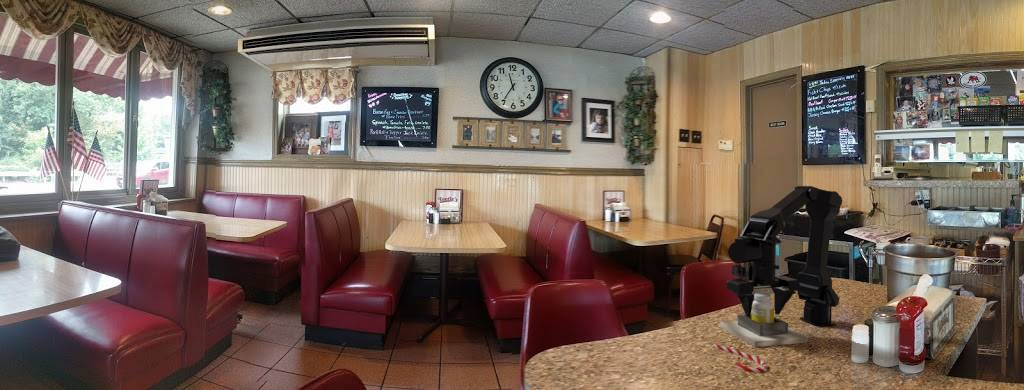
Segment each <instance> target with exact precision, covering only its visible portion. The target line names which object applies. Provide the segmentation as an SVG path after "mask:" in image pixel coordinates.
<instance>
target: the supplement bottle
mask: <svg viewBox="0 0 1024 390" xmlns="http://www.w3.org/2000/svg"><path fill="white" fill-rule="evenodd" d="M753 295H754V299H753V304H752V310H751V314H752V320H754V321H756V322H758V323H760V324H764V323H774V317H775V315H774V314H775V309H774V304H773V303H772V302H771V301H772V295H771V294H769V293H766V292H765V293H764V292H755V293H754V294H753Z"/></svg>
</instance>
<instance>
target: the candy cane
mask: <svg viewBox="0 0 1024 390" xmlns="http://www.w3.org/2000/svg"><path fill="white" fill-rule="evenodd" d="M712 348H714V349H717V350H719V351H724V352H728V353H729V354H734V355H735V356H737V355H738V356H741V357H743V358H745V359H749V360H751V361H752V362H755V363H757V364H759V366H760V367H751V366H746V365H743V364H740V363H736V364H735V367H736V368H737V369H739V370H742V371H745V372H748V373H755V374H762V373H766V372H767V371H768V370H769V365H768V364H767V362H765V361H764V360H763V359H761V358H759V357H756V356H754V355H752V354H750V353H746V352H744V351H740V350H737V349H735V348H731V347H728V346H724V345H720V344H716V343H713V344H712Z"/></svg>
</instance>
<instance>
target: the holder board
mask: <svg viewBox="0 0 1024 390" xmlns="http://www.w3.org/2000/svg"><path fill="white" fill-rule="evenodd" d="M719 328H721V330H724V331H725V332H727V333H729V334H731V335H732V336H734V337H736V338H738V339H740V340H741V341H743V342H745V343H747V344H749V345H750V346H752V347H754V348H759V347H770V346H780V345H782V346H784V345H792V344H802V343H803V344H804V343H809V336H808V335H805V334H803V333H801V332H798V331H796V330H794V329H792V328H789V322H787V321H784V320H782V319H779V318H777V317H775V316H774V323H764V324H760V323H758V322H756V321H754V320H752V313H751V314H750V317H747V316H746V315H745V313H741V314H737V320H735V321H734V320H733V321H721V322H719Z"/></svg>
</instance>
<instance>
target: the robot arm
mask: <svg viewBox="0 0 1024 390" xmlns="http://www.w3.org/2000/svg"><path fill="white" fill-rule="evenodd" d="M842 204H843V198H842V196H841V195H840V193H838V192H837V191H835V190H826V189H821V188H818V187H815V186H813V185H798V186H795V187H793V190H792V191H790V193H788V194H787V195H785V196H784V197H783V198H781V199H780V200H779V201H777V202H776V203H775V204H774V205H773V206H772V207H770V208H768V209H764V210H759V211H758V212H756V213H754V214H752V215H751V216H750V217H749V218H748V221H747V223H746V225H745V227H744V228H743V230H742V232H741V233H740V235H739V237H735V238H734V242H732V243H731V244H730V245H729V248H728V249H727V254H728V257H729V259H730V260H731V261H732V262H733V263H734V264H733V265H732V266H731V275H732V277H737V278H732V279H728V280H727V281H726V290H728V291H730V292H731V293H733V294H735V295H736V296H737V297H738V299H739V302H740V304H741V307H742V309H743V311H744V314H745V315H746V316H747V317H750V314H752V304H753V301H754V300H755V299H754V294H753V292H754V290H755V289H757V290H759V289H760V290H761V289H771V290H772V292H773V294H774V298H773V299H774V302H773V303H774V304H773V305H774V314H775V315H780V314H781V312H782V311H783V309H784V308H785V306H786V304H787V303H788V302H789V300H791V298H792V297H793V295H796V294H797V296H798V299H799V300H802V301H804V306H803V316H802V317H799V320H801V321H804V322H806V323H809V324H810V325H813V326H815V327H825V326H826V327H827V326H836V325H837V323H836V322H834V321H832V308H836V307H837V306H838V305H839V303H840V296H839V295H838V294H837V292H836V291H835V290H834V289H833V279H832V278H831V275H830V274H829V272H828V270H827V269H828V259H829V250H830V239H831V229H832V221H833V220H834V219H835V218H837V216H838V215H839V214H840V211H841V206H842ZM804 206H805V212H806V213H807V215H808V218H810V227H809V236H808V245H807V246H808V247H807V254H806V255H807V256H806V263H805V264H806V265H805V268H804V269H802V270H801V271H798V272H797V274H796V278H792V277H790V276H789V277H788V276H786V275H783V276H781V275H780V276H776V270H780V265H779V264H777V263H776V261H777V258H776V257H777V255H776V253H777V244H778V245H779V244H781V243H782V241H781V239H779V238H778V235H780V233H782V231H783V230H784V229H785V227H786V221H787V220H788V219H789V218H791V217H792V216H794V214H796V212H798V211H799V210H801V209H802V208H803V207H804ZM746 263H747V265H746V266H745V267H743V266H742V265H741V264H746Z"/></svg>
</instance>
